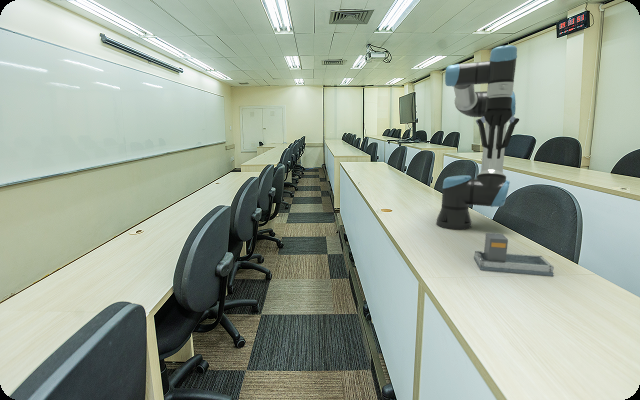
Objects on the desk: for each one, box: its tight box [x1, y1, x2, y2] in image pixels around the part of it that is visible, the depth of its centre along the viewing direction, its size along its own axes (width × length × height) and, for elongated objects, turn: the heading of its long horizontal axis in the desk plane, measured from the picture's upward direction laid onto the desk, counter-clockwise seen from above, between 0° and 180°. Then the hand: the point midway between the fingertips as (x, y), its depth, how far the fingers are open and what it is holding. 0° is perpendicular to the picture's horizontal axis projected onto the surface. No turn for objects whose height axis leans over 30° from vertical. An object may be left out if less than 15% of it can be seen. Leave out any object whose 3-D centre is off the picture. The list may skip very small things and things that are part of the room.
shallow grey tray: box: [473, 250, 555, 277], centre depth 103 cm, size 10×20×3 cm, turn 75°
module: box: [483, 232, 509, 262], centre depth 103 cm, size 6×5×9 cm
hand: (492, 168), depth 110 cm, fingers closed
